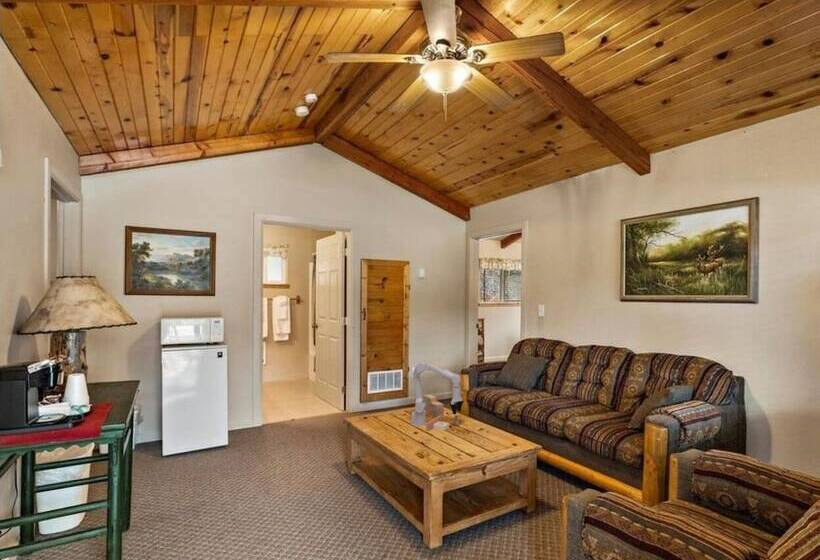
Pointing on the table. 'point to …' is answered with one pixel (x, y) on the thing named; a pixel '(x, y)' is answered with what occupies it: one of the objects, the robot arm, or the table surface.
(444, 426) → the beige square frame
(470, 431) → the table surface
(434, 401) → the stack of blocks
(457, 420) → the birch dowel
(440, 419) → the wall
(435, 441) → the table surface
